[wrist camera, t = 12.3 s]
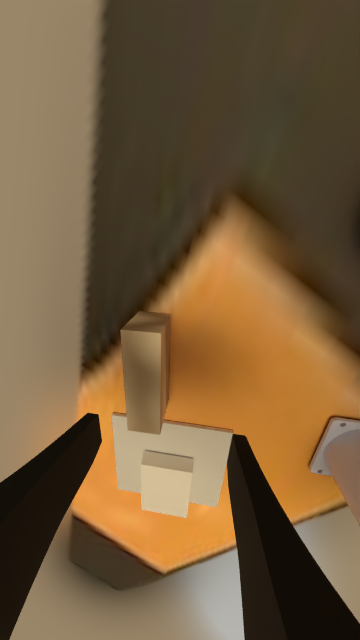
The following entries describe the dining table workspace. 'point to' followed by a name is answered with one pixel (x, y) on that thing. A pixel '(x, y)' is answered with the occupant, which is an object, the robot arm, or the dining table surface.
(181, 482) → the tile
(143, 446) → the mat
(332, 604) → the robot arm
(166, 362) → the wooden bar
